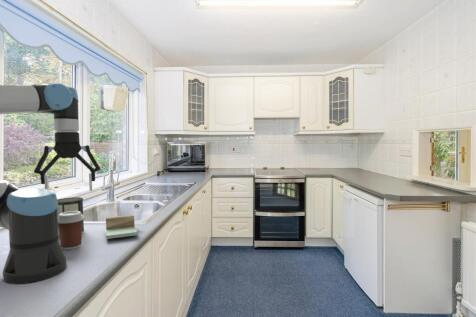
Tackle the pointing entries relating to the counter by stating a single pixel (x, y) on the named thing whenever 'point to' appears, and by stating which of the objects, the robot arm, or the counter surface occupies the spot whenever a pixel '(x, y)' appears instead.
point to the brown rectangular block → (119, 222)
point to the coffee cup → (70, 229)
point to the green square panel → (121, 232)
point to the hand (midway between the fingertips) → (69, 191)
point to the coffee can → (70, 206)
